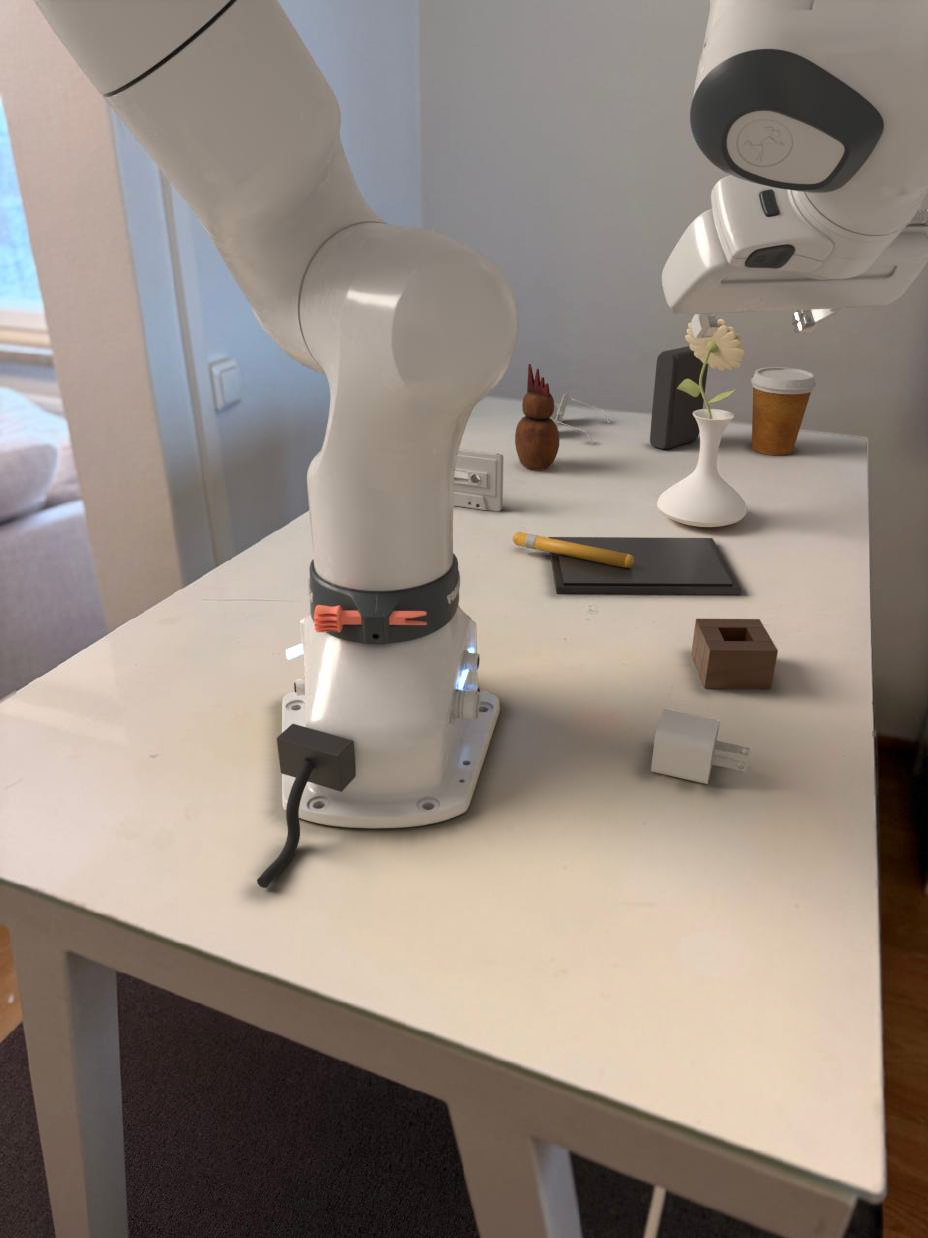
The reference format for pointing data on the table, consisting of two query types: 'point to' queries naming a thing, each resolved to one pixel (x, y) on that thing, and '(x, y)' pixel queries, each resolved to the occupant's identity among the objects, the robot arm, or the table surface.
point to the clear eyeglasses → (562, 410)
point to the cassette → (479, 491)
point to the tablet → (646, 568)
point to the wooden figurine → (537, 426)
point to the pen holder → (733, 653)
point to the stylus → (573, 550)
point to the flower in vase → (708, 443)
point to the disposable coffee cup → (779, 408)
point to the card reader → (675, 398)
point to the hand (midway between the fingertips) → (750, 328)
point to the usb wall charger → (690, 747)
